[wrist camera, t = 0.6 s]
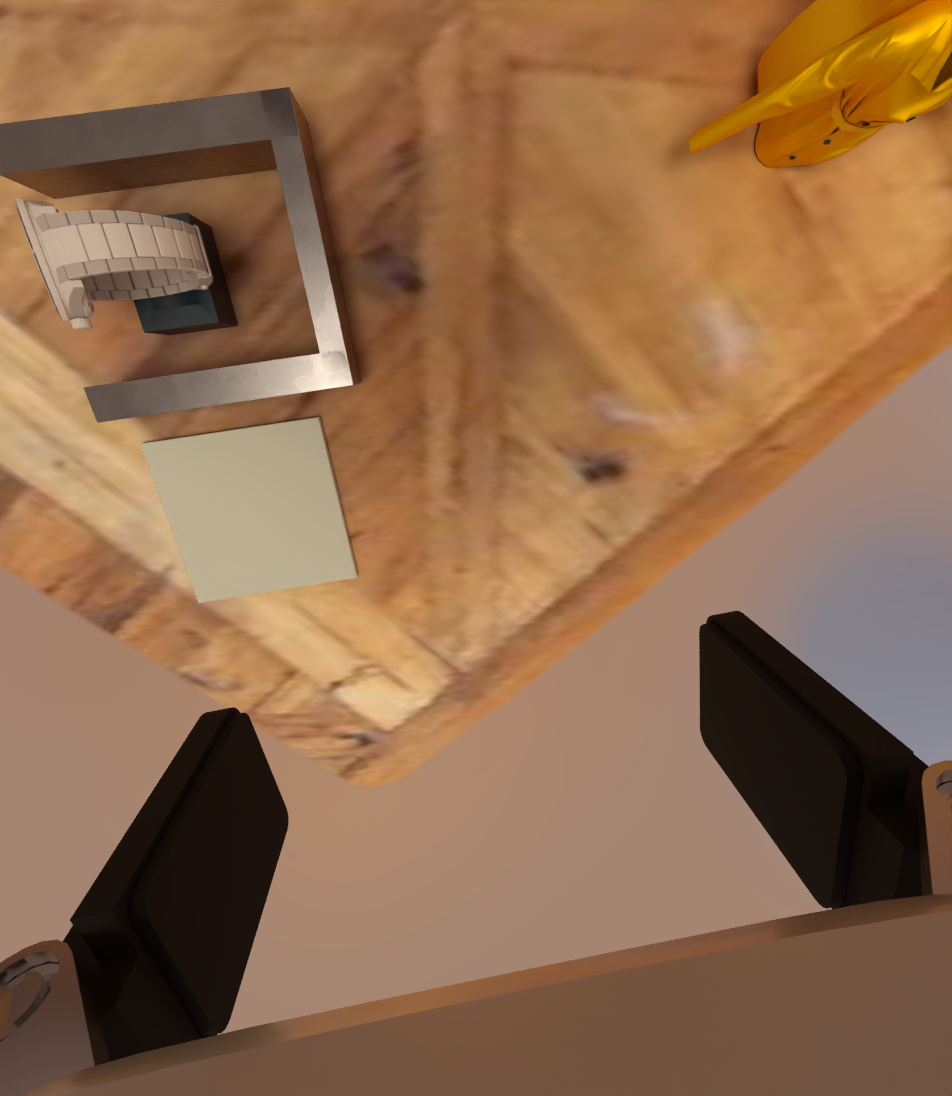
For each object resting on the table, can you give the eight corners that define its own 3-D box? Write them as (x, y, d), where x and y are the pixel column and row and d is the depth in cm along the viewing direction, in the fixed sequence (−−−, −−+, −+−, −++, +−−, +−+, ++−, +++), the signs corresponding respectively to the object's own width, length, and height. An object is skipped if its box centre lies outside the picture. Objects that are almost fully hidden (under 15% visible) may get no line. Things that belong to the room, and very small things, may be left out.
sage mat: (144, 442, 34) (139, 444, 34) (319, 416, 35) (318, 417, 34) (201, 599, 39) (198, 603, 38) (358, 574, 39) (356, 577, 38)
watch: (105, 240, 30) (-62, 178, 20) (240, 223, 31) (143, 153, 20) (139, 340, 32) (3, 331, 22) (265, 323, 33) (189, 305, 22)
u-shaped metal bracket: (39, 157, 29) (-20, 126, 25) (307, 122, 29) (289, 87, 25) (134, 415, 34) (97, 422, 30) (361, 382, 34) (352, 384, 30)
